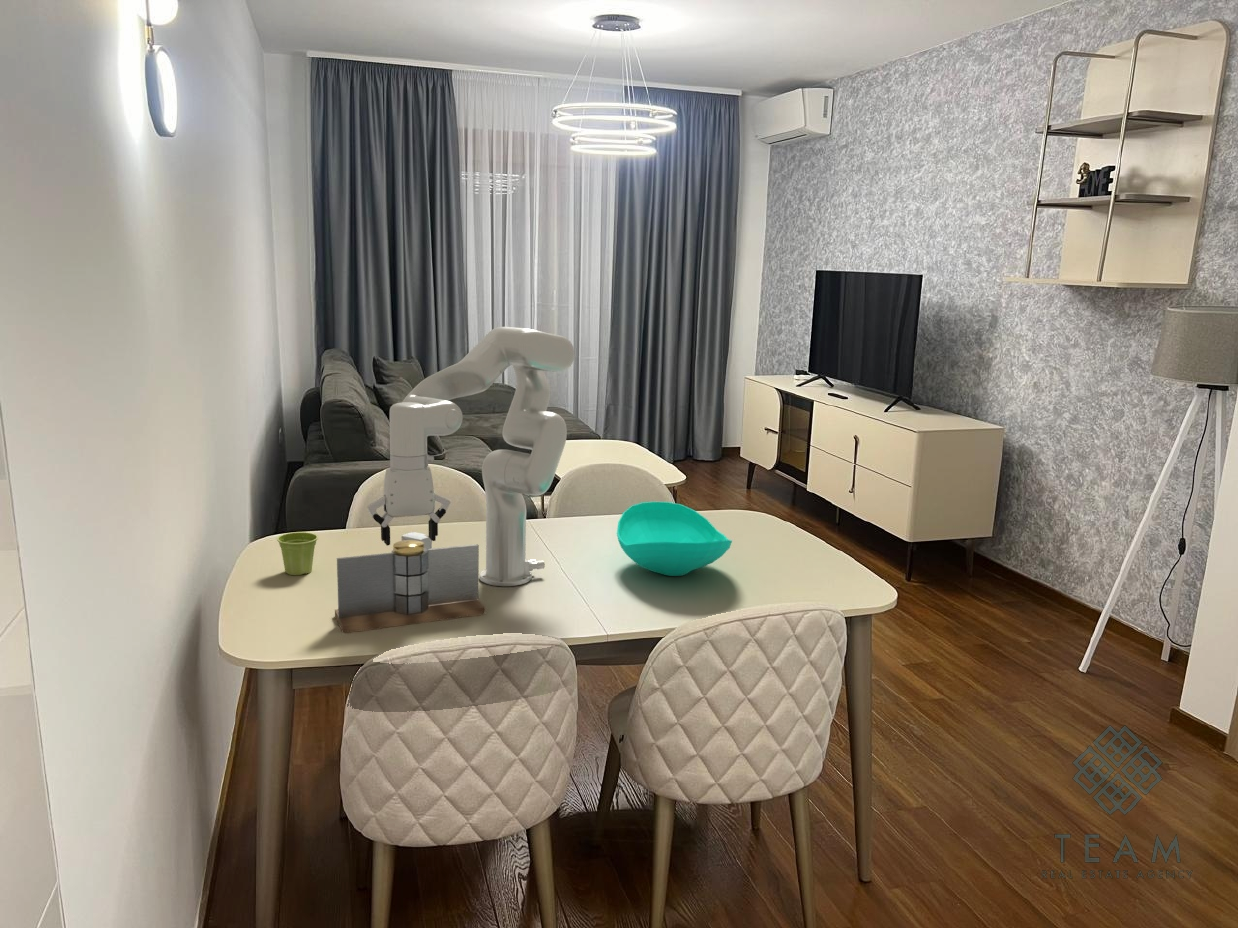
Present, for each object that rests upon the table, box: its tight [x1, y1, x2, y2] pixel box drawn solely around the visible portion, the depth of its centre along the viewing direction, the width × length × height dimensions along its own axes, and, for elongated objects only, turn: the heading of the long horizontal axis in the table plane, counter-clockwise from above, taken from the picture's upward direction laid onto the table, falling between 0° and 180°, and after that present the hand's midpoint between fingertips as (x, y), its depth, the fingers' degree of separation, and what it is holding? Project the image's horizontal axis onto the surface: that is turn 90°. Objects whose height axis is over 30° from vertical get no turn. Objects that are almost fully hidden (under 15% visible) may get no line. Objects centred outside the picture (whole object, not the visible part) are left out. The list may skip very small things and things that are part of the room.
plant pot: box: [276, 531, 319, 576], centre depth 227 cm, size 9×9×9 cm
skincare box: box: [400, 531, 433, 551], centre depth 221 cm, size 6×4×12 cm
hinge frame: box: [336, 548, 429, 618], centre depth 199 cm, size 19×7×13 cm, turn 116°
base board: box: [334, 599, 486, 634], centre depth 202 cm, size 30×10×2 cm, turn 116°
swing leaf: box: [394, 543, 480, 605], centre depth 203 cm, size 19×7×12 cm, turn 116°
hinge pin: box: [392, 540, 424, 595], centre depth 201 cm, size 6×6×14 cm
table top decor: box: [616, 501, 733, 577], centre depth 237 cm, size 40×28×13 cm
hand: (409, 541), depth 199 cm, fingers open, 9 cm apart
